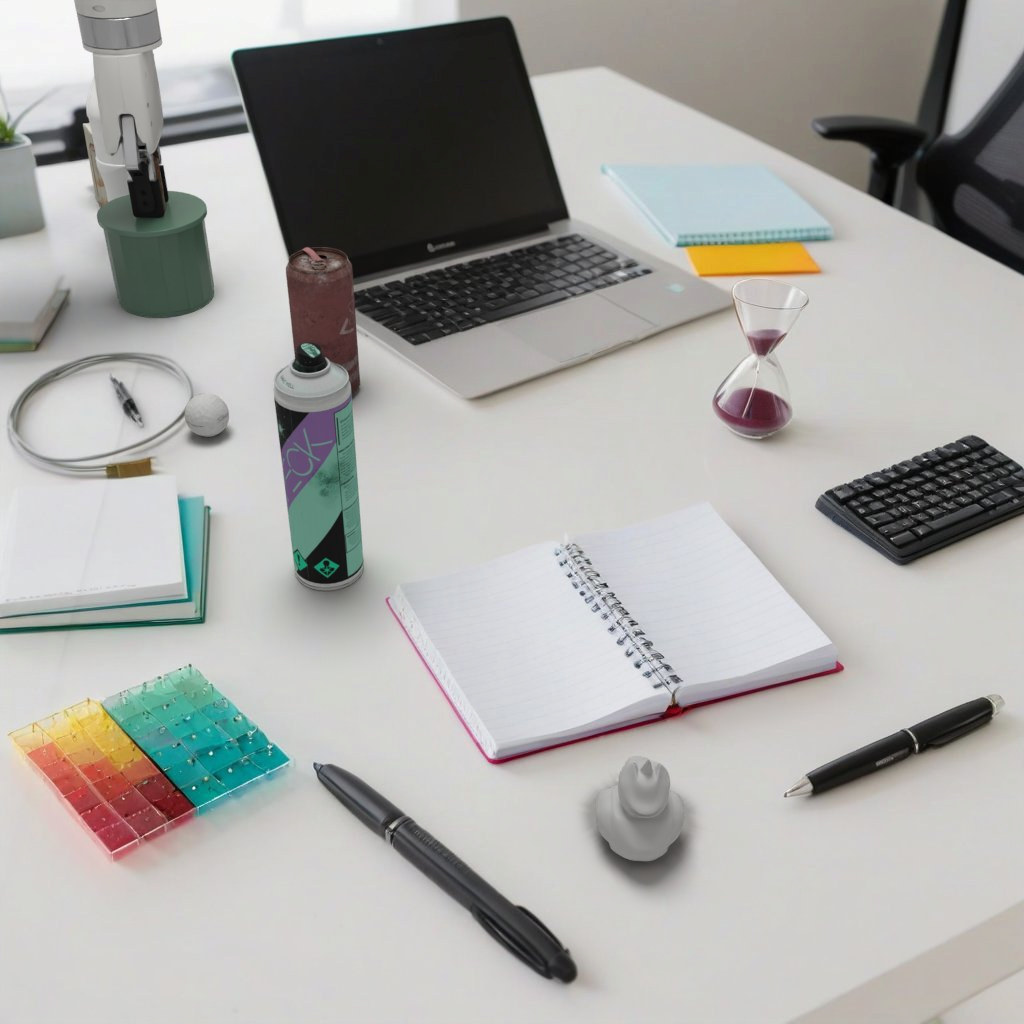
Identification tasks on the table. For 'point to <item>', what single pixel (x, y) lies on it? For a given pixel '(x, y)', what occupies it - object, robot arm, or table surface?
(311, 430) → the spray can
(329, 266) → the can
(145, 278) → the tin
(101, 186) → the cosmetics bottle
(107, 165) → the water bottle
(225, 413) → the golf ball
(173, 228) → the tin lid
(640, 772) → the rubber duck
